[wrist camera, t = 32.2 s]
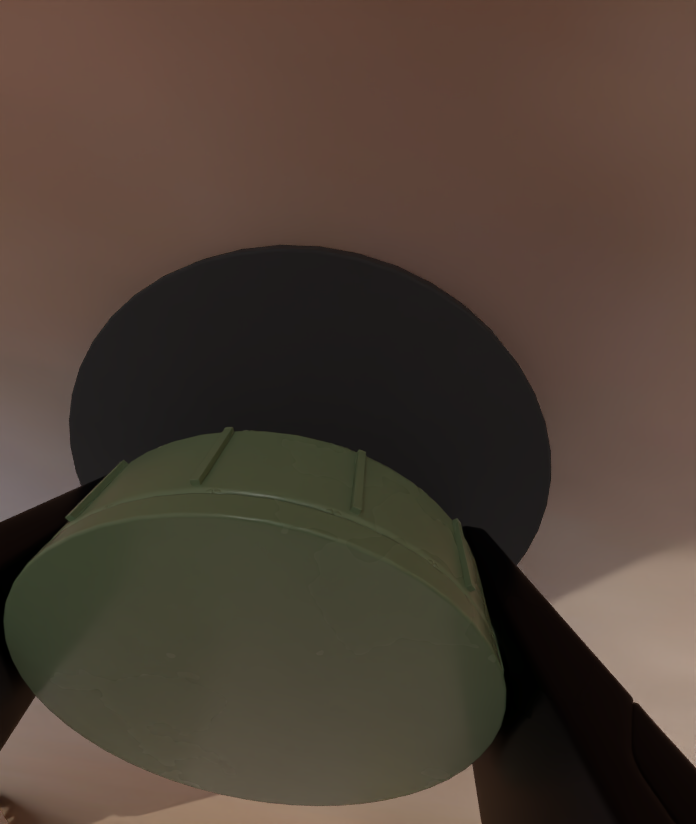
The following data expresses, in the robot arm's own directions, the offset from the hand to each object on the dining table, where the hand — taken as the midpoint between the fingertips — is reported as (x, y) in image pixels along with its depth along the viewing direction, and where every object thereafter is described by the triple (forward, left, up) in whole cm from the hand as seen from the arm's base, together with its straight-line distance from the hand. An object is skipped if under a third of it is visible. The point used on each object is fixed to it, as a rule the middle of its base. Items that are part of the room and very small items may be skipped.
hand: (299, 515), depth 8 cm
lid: (0, 0, +3) cm, 3 cm away
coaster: (0, 0, -1) cm, 1 cm away
